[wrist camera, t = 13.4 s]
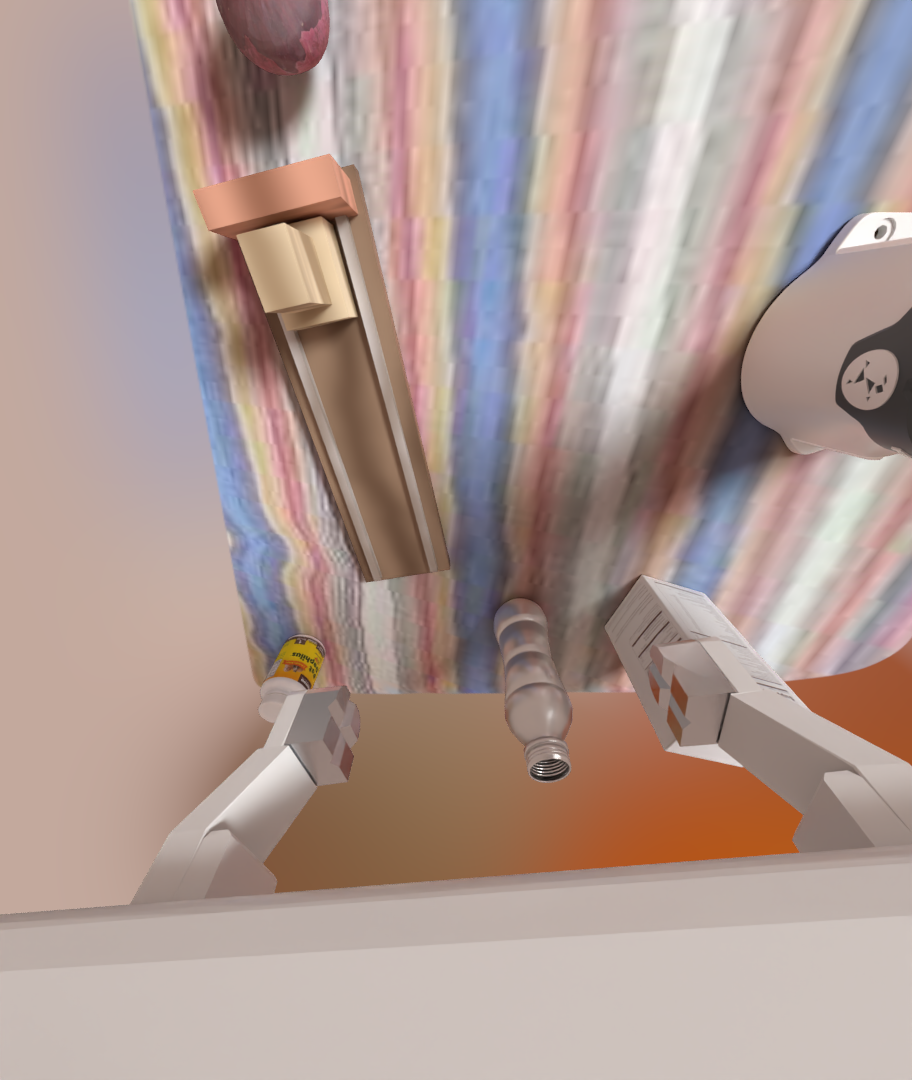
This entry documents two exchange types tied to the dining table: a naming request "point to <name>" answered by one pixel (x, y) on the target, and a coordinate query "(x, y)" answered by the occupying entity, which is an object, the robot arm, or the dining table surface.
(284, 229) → the block
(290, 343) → the rail board
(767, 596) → the dining table surface
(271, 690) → the supplement bottle
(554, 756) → the plastic bottle
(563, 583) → the dining table surface
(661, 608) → the supplement box
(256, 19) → the vegetable
